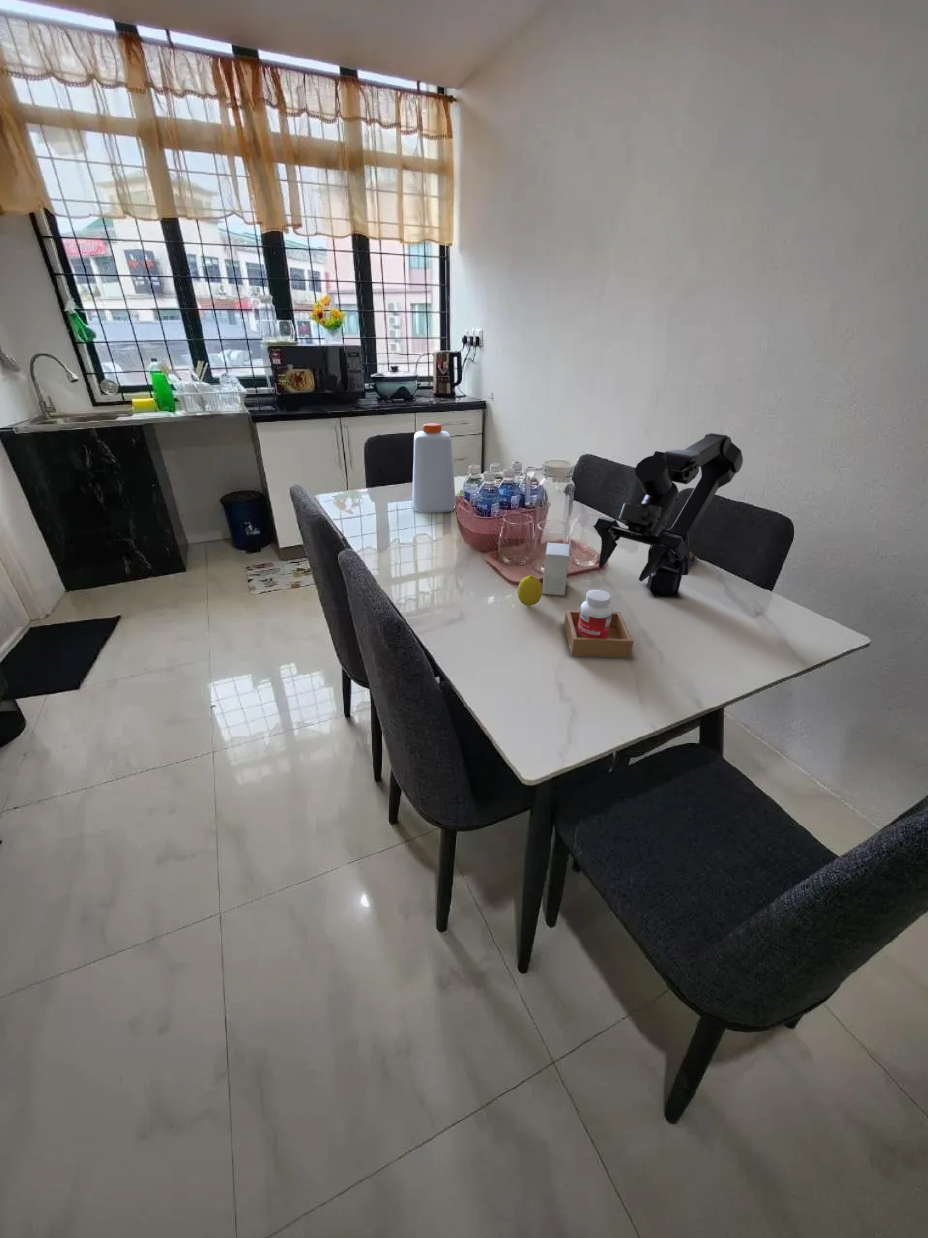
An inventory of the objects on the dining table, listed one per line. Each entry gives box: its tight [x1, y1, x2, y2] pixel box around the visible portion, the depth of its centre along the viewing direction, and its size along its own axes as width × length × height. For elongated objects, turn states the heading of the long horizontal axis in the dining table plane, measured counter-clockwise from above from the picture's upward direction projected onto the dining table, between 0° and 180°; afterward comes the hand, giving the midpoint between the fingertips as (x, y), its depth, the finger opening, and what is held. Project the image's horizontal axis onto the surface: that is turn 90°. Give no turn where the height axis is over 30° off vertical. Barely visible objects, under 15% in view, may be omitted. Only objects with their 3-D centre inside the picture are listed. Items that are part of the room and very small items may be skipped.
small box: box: [542, 542, 571, 596], centre depth 123 cm, size 8×6×10 cm
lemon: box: [517, 574, 543, 608], centre depth 115 cm, size 6×6×8 cm
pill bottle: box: [576, 589, 613, 638], centre depth 101 cm, size 6×6×11 cm
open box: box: [563, 609, 635, 659], centre depth 104 cm, size 12×12×4 cm
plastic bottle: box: [411, 422, 456, 514], centre depth 173 cm, size 15×15×28 cm
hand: (619, 573), depth 102 cm, fingers open, 9 cm apart
